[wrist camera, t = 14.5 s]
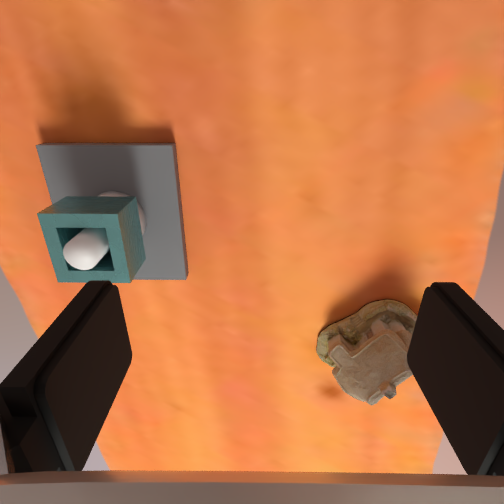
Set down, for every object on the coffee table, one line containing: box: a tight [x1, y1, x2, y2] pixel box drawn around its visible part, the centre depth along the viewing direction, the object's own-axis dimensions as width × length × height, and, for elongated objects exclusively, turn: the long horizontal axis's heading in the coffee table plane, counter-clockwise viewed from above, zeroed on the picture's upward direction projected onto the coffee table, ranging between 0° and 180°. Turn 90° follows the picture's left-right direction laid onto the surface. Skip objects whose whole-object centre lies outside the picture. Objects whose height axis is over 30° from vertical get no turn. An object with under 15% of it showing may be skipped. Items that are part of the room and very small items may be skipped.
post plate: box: [36, 143, 188, 280], centre depth 34 cm, size 16×14×10 cm
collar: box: [37, 196, 146, 283], centre depth 33 cm, size 7×7×5 cm
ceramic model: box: [317, 300, 417, 405], centre depth 42 cm, size 14×11×10 cm
